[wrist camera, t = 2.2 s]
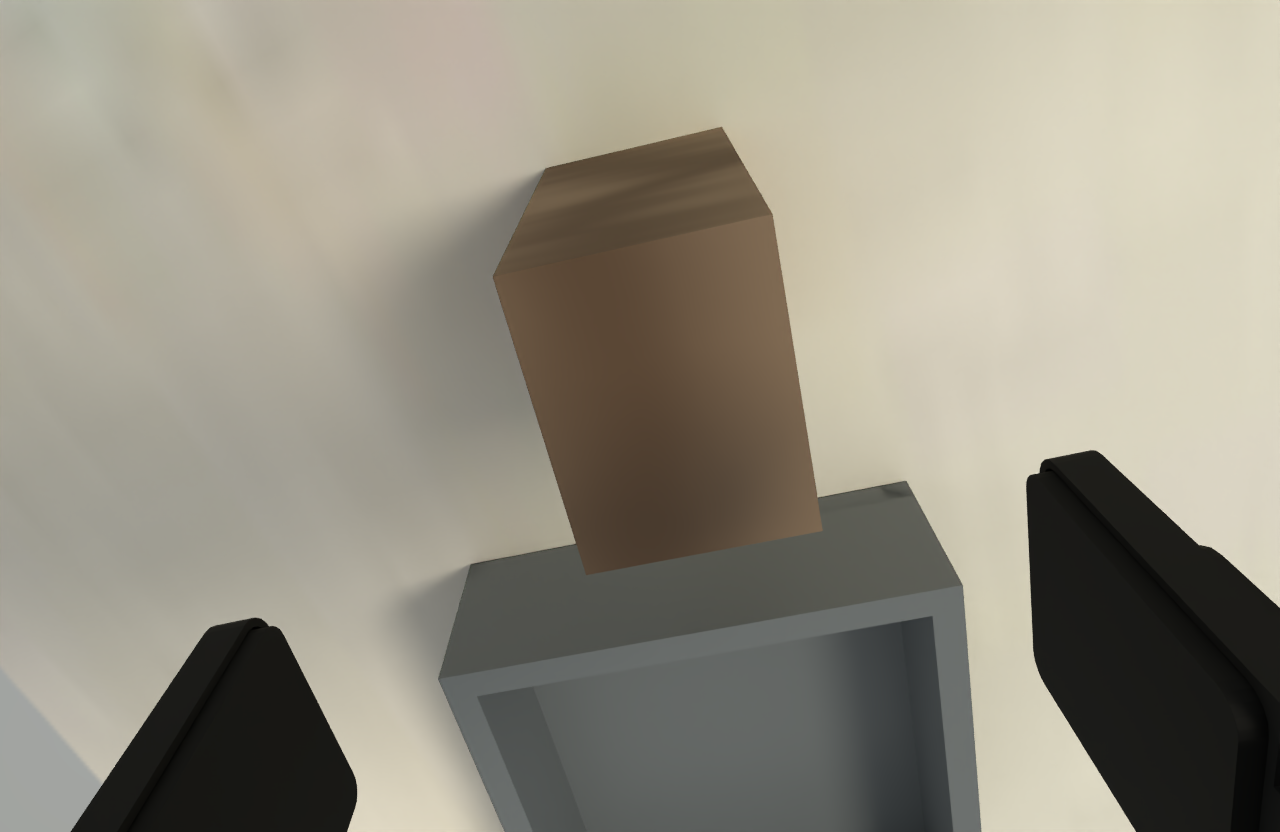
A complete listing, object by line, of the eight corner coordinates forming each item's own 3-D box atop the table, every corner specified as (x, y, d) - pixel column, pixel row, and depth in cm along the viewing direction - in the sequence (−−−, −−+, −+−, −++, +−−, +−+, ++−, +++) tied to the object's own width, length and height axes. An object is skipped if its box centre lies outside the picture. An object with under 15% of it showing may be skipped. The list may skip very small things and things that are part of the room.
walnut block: (721, 127, 21) (772, 213, 13) (760, 347, 24) (822, 530, 16) (545, 168, 22) (492, 277, 14) (603, 380, 25) (586, 574, 16)
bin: (906, 481, 26) (962, 585, 22) (942, 828, 33) (991, 962, 28) (470, 564, 27) (438, 679, 23) (592, 882, 34) (585, 1018, 30)
